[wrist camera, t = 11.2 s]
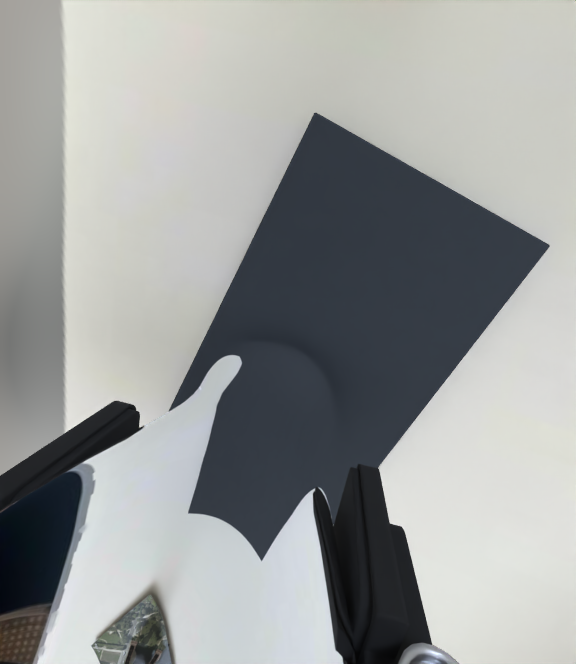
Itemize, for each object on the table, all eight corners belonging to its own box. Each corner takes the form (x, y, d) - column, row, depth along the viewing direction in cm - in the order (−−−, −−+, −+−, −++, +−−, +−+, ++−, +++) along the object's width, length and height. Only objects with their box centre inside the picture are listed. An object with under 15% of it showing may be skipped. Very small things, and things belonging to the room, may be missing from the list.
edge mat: (315, 116, 12) (314, 111, 12) (544, 245, 12) (550, 245, 12) (135, 482, 18) (131, 487, 17) (290, 574, 18) (290, 581, 17)
